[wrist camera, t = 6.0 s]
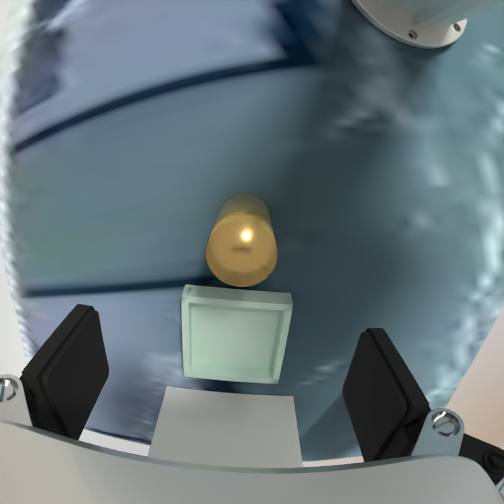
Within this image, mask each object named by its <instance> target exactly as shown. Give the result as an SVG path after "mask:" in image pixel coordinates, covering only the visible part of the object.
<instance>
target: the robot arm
mask: <svg viewBox="0 0 504 504" xmlns="http://www.w3.org/2000/svg"><path fill="white" fill-rule="evenodd" d="M351 1H352V2H353V4H354V5H355V6H356V8H357V9H358V10H359V11H360V12H361V13H362V15H363V16H364V17H365V18H367V19H368V20H369V21H370V22H371V23H372V24H373V25H374V26H376V27H377V28H378V29H380V30H381V31H383V32H384V33H385V34H387V35H389V36H391V37H393V38H394V39H396V40H398V41H400V42H403V43H405V44H408V45H411V46H415V47H419V48H430V49H434V48H439V47H444V46H446V45H449V44H452V43H453V42H455V41H456V40H457V39H459V38H460V36H461V35H462V34H463V32H464V30H465V27H466V25H467V18H470V17H472V16H475V15H477V14H480V13H483V12H486V11H489V10H491V9H494V8H497V7H500V6H503V5H504V0H351ZM108 375H109V367H108V362H107V357H106V352H105V347H104V342H103V337H102V331H101V325H100V319H99V314H98V312H97V311H95V310H94V307H92V306H88V305H82V304H78V305H76V306H75V308H74V309H73V310H72V311H71V312H70V313H69V314H68V316H67V317H66V318H65V319H64V320H63V321H62V323H61V324H60V325H59V326H58V327H57V329H56V330H55V331H54V332H53V333H52V335H51V336H50V337H49V338H48V339H47V341H46V342H45V343H44V344H43V346H42V347H41V348H40V349H39V351H38V352H37V353H36V354H35V356H34V357H33V358H32V359H31V361H30V362H29V363H28V365H27V366H26V367H25V368H24V370H23V371H22V376H21V377H20V378H17V377H16V376H14V375H8V374H6V375H0V504H504V450H502V449H500V448H499V447H496V446H494V445H491V444H489V443H486V442H484V441H481V440H479V439H476V438H474V437H472V436H469V435H467V434H465V433H464V423H463V420H462V419H461V418H460V416H459V415H457V414H456V413H455V412H453V411H451V410H449V409H445V408H437V409H434V410H432V411H431V409H430V407H429V402H428V401H427V399H426V397H425V396H424V394H423V392H422V390H421V389H420V387H419V385H418V384H417V382H416V380H415V379H414V377H413V375H412V374H411V372H410V370H409V369H408V367H407V365H406V364H405V362H404V361H403V359H402V357H401V356H400V354H399V353H398V351H397V349H396V348H395V346H394V345H393V343H392V341H391V340H390V338H389V337H388V335H387V334H386V332H385V330H384V329H383V328H368V329H366V331H365V332H362V333H361V335H360V338H359V341H358V344H357V347H356V350H355V354H354V357H353V360H352V363H351V365H350V368H349V371H348V374H347V377H346V380H345V382H344V385H343V397H344V400H345V403H346V406H347V409H348V412H349V415H350V418H351V421H352V424H353V428H354V431H355V434H356V437H357V440H358V443H359V446H360V449H361V453H362V456H363V459H364V462H363V463H354V464H344V465H333V466H320V467H300V468H246V467H227V466H214V465H203V464H193V463H185V462H178V461H171V460H164V459H158V458H152V457H146V456H141V455H136V454H131V453H126V452H122V451H117V450H113V449H109V448H105V447H101V446H97V445H93V444H90V443H85V442H82V441H78V440H79V438H80V435H81V433H82V431H83V429H84V426H85V424H86V422H87V420H88V418H89V415H90V413H91V411H92V409H93V407H94V405H95V403H96V401H97V398H98V396H99V394H100V392H101V390H102V388H103V386H104V384H105V382H106V380H107V378H108Z"/></svg>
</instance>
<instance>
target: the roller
mask: <svg viewBox="0 0 504 504" xmlns="http://www.w3.org/2000/svg"><path fill="white" fill-rule="evenodd" d="M206 259H207V263H208V266H209V268H210V270H211V271H212V273H213V274H214V275H215V276H216V277H217V278H218V279H220V280H221V281H223V282H224V283H226V284H229V285H232V286H237V287H247V286H252V285H255V284H258V283H260V282H261V281H263V280H264V279H266V278H267V277H268V276H269V275H270V274H271V272H272V271H273V269H274V267H275V265H276V261H277V246H276V242H275V237H274V233H273V228H272V224H271V219H270V215H269V210H268V208H267V206H266V204H265V203H264V201H263V200H262V199H260V198H259V197H258V196H256V195H253V194H250V193H239V194H235V195H233V196H231V197H230V198H228V199H227V200H226V201H225V202H224V203H223V205H222V207H221V209H220V212H219V214H218V217H217V220H216V222H215V225H214V227H213V230H212V233H211V235H210V238H209V241H208V243H207V247H206Z"/></svg>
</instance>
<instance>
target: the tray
mask: <svg viewBox="0 0 504 504" xmlns="http://www.w3.org/2000/svg"><path fill="white" fill-rule="evenodd" d="M181 303H182V343H183V367H184V376H186V377H194V378H203V379H213V380H224V381H237V382H251V383H270V384H278V381H279V377H280V372H281V367H282V362H283V357H284V352H285V347H286V341H287V336H288V331H289V326H290V320H291V315H292V309H293V301H292V297H291V293H281V292H267V291H254V290H242V289H230V288H218V287H207V286H197V285H185V288H184V290H183V293H182V295H181Z"/></svg>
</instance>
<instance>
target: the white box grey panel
mask: <svg viewBox="0 0 504 504" xmlns="http://www.w3.org/2000/svg"><path fill="white" fill-rule="evenodd" d="M148 457H152V458H158V459H164V460H171V461H178V462H185V463H193V464H203V465H214V466H227V467H246V468H300V467H303V465H302V457H301V450H300V442H299V435H298V427H297V420H296V413H295V406H294V399H293V396H273V395H252V394H237V393H224V392H213V391H203V390H194V389H186V388H178V387H171V386H167V388H166V391H165V395H164V398H163V402H162V406H161V409H160V413H159V416H158V420H157V424H156V427H155V431H154V435H153V439H152V442H151V446H150V450H149V454H148Z"/></svg>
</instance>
